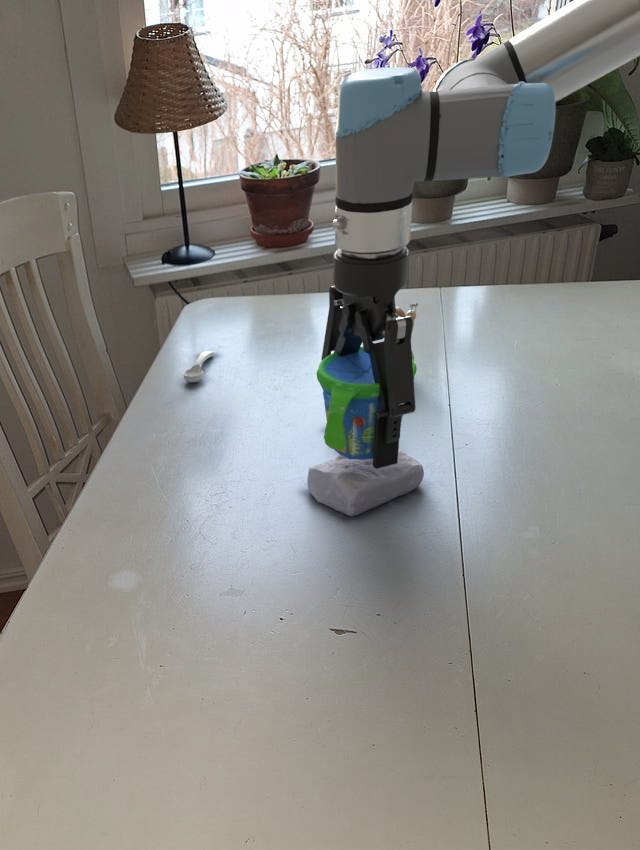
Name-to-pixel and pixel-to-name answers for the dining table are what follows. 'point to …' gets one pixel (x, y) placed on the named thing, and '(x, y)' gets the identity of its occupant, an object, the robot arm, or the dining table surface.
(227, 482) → the dining table surface
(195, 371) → the spoon
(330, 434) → the snack cup
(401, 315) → the snail figurine
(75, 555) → the dining table surface
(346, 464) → the stone block
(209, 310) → the dining table surface
